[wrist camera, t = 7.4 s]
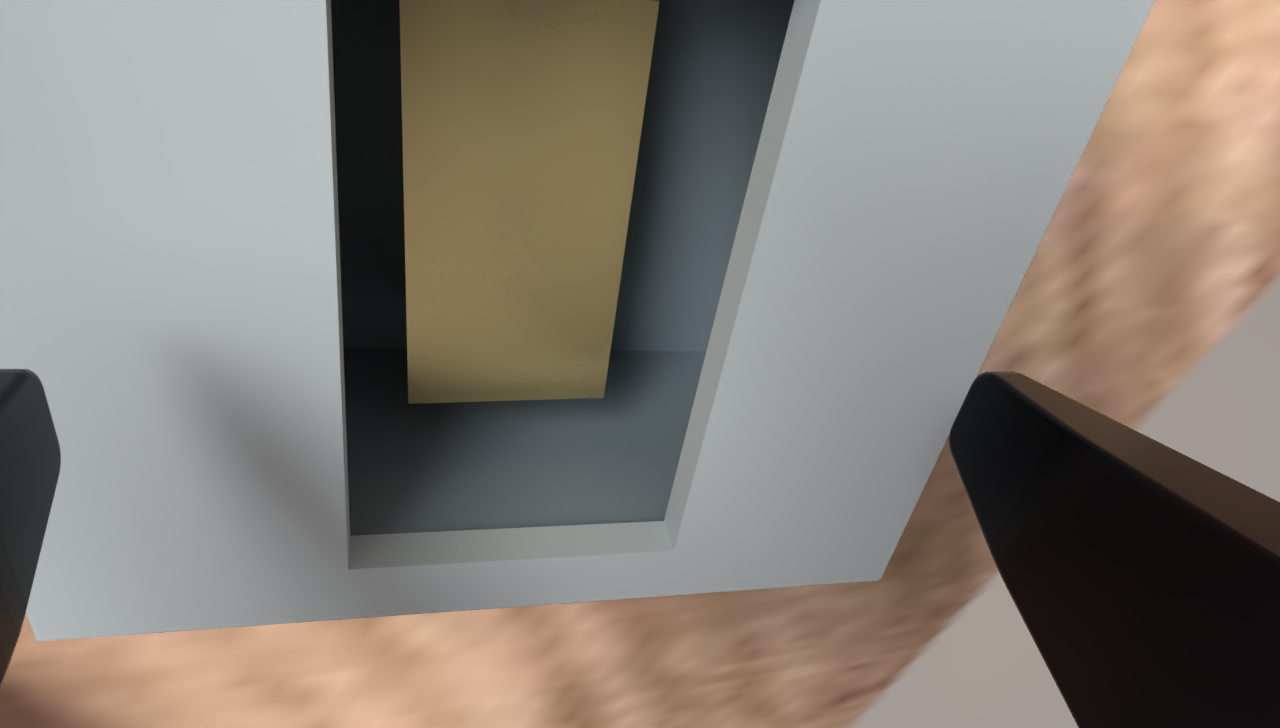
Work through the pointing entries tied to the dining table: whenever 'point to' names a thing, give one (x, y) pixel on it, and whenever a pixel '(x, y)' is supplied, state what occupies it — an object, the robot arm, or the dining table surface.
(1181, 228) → the dining table surface
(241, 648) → the dining table surface
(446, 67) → the wooden block
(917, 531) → the dining table surface
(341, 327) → the box
